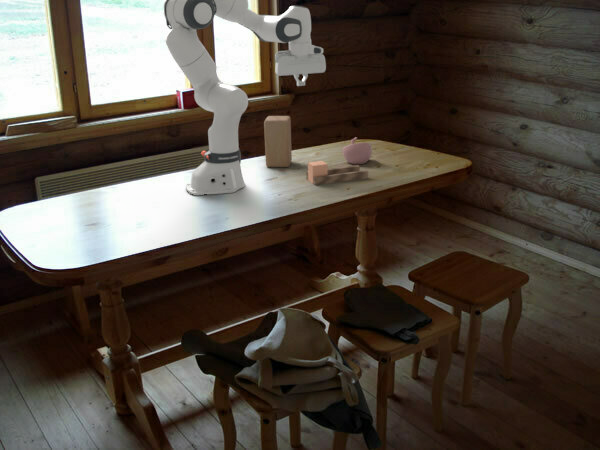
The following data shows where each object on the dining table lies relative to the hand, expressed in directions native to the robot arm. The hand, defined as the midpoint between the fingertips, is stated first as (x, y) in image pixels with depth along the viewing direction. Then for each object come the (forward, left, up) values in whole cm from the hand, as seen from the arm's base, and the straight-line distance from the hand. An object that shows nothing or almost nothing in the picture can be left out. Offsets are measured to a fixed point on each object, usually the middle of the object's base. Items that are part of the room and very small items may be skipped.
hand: (301, 85), depth 256 cm
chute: (+6, -22, -34) cm, 41 cm away
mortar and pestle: (+23, -4, -34) cm, 42 cm away
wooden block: (-7, +10, -34) cm, 36 cm away
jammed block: (-2, -22, -33) cm, 40 cm away
